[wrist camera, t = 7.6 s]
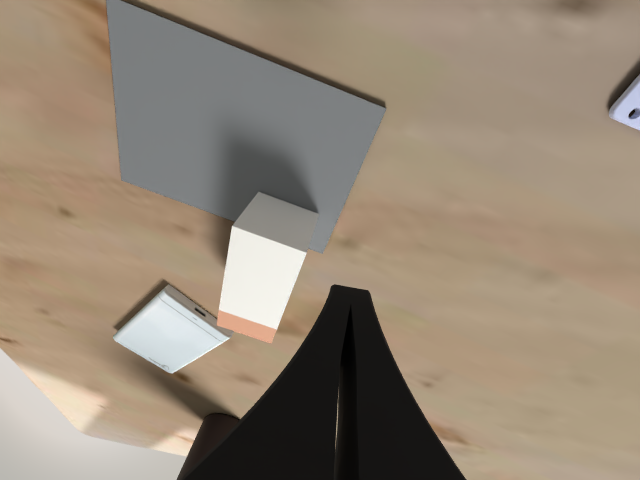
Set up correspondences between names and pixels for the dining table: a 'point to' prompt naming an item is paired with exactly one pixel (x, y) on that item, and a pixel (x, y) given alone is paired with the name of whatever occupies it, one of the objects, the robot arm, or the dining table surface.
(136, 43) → the mat
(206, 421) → the bottle
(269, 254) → the block
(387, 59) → the dining table surface
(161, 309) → the hard drive
